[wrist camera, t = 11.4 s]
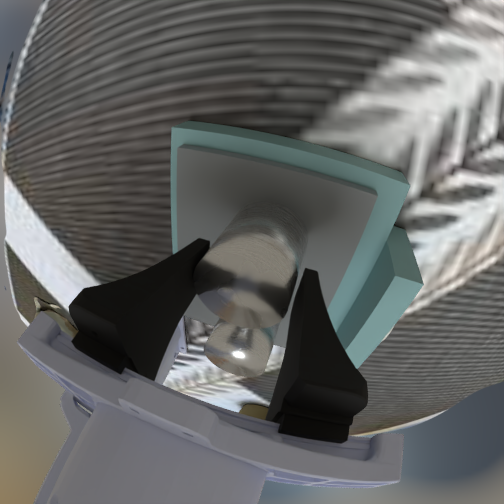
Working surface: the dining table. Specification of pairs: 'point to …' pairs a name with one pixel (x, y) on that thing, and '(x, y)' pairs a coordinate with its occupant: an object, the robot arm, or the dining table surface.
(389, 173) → the scale
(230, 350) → the cylinder
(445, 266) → the dining table surface
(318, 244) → the pan
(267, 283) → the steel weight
